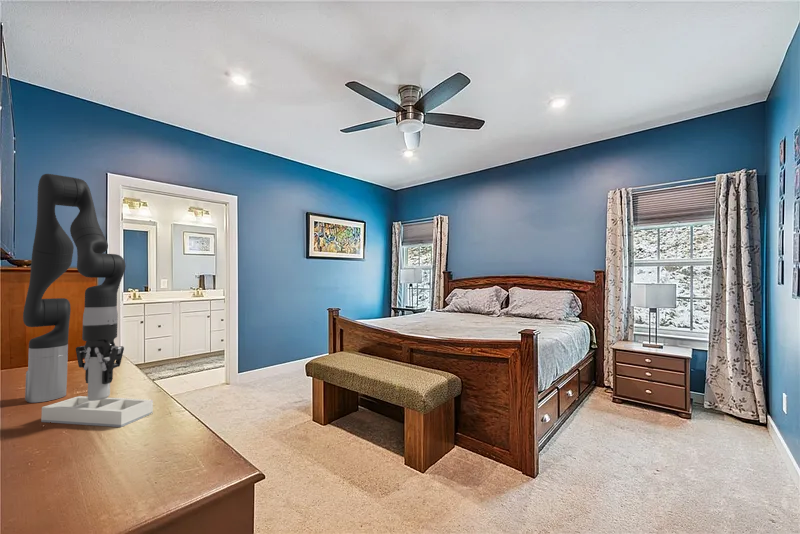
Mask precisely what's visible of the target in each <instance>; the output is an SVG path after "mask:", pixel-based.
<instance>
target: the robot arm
mask: <svg viewBox="0 0 800 534" xmlns="http://www.w3.org/2000/svg"><path fill="white" fill-rule="evenodd" d="M36 205H37V207H36V208H37V211H36V225H35V226H36V227H35V233H34V239H33V245H32V253H31V261H30V262H31V264H30V276H29V283H28V288H27V293H26V298H25V302H24V306H23V311H22V313H23V314H22V321H23V323H24V325H25V326H26V327H28V328H38V327H40V328H41V327H51V326H54V328H53V329H52V330H51V331H48V332H46V333H45V334H42V335H39V336H36V337H32V338H31V339H30V340H29V342H28V363H27V364H28V367H27V371H26V372H25V392H24V401H26V402H27V403H30V404H31V403H33V404H34V403H43V402H48V401H49V402H50V401H53V400H57V399H61V398H64V397H66V396H67V385H68V358H69V357H68V356H69V354H68V353H69V334H70V333H69V331H70V329H69V328H70V319H71V303H70V300H69V299H67V298H63V297H59V298H58V297H57V298H53V297H52V298H43V296H44V294H45V293H46V291H47V289H49V287H50V286H51V285H52V284H53V283H54V282H56V281H57V280H58V279H59V278H60V277H61V276H62V275H64V273H66V272H67V270H69V269H70V267H71V265H72V263H73V262H72V261H73V256H74V255H73V254H74V250H75V249H74V245H75V247H76V253H77V255H76V256H77V257H76V259H77V261H76V270H77V272H78V273H79V274H80V275H82V276H83V277H85V278H100V279H101V278H103V279H104V281H103V282H102V283H101V284H98V285H93V286H90V287H87V288H86V289H85V292H84V311H83V314H82V334H81V335H82V336H81V337H82V339H81V340H82V341H84V342H85V344H84V345H81V346H76V348H75V353H76V354H75V355H76V358H77V364H78V367H79V368H80V369H81V368H82V369H83V371H85V373H84V374H85V375H84V376H85V378H84V379H85V384H88V360H89V357H98V360H99V363H101V364H102V368H103V370H104V371H102V384H108V383H110V384H111V383H112V381H113V378H114V377H113V375H114V369H116V368H119V367H120V366H121V363H122V360H123V359H122V358H123V355H124V350H125V347H124V346H123V345H122V346H117V345H116V343H115V340H116V339H117V337H118V324H119V323H118V318H119V317H118V316H119V315H118V314H119V313H118V307H117V306H118V291H119V289H120V286H121V285H120V284H121V282H122V279H123V277H124V275H125V271H126V261H125V259H124V258H123V257H122V255H120V254H117V253H116V254H115V253H106V251H107V250H108V249H109V244H108V241H107V239H106V236H105V235H104V233H103V231H102V228H101V226H100V224H99V221H98V218H97V217H98V216H97V213H96V207H95V205H94V199H93V197H92V191H91V189H90V187H89V185H88V183H87V182H86V181H85V180H84V179H81V178H77V177H71V176H66V175H61V174H52V173H44V174H42V175H41V176H40V178H39V180H38V185H37V204H36ZM56 206H64V207H71V208H72V207H75V208H78V210H79V212H78V214H77V215H76V216H75V218H73V221H72V222H71V225H70V228H69V232H70V236H71V238H70V236H69V235H68V234H67V233H66V231H65V230H64V228H63V227H62V226H61V224H60V223H59V221H58V218H57V215H56ZM71 239H72V240H71ZM73 242H74V243H73ZM106 357H110V358H108V359H104V358H106ZM107 362H109V365H107Z"/></svg>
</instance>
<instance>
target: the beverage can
mask: <svg viewBox="0 0 800 534" xmlns="http://www.w3.org/2000/svg"><path fill="white" fill-rule="evenodd" d="M108 358H110V357H106V358H104V359H108ZM107 365H109V362H107ZM102 371H104V370H103V368H102V364H101V363H99V360H98V357H89V360H88V383H87V397H88V400H90V401H96V400H101V399H105V398H107V397H108V398H109V397H110V395H111V383H108V384H102Z"/></svg>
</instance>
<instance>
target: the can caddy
mask: <svg viewBox="0 0 800 534" xmlns="http://www.w3.org/2000/svg"><path fill="white" fill-rule="evenodd" d="M153 402H154V400H153V399H150V398H149V399H145V398H143V399H142V398H125V397H109V396H108V397H107V398H105V399H101V400H96V401H90V400H88V395H87V396H86V395H85V396H81V395H78V396H74V397H70V398H68V399H65V400H62V401H58V402H55V403H50V404H48V405H45V406H41V419H40V420H41V423H48V424H49V423H50V422H51V423H54V424H65V425H81V426H82V425H83V426H95V427H98V426H99V427H113V428H123V427H124V426H127V425H129V424H131V423H134V422H136V421H138V420H141V419H143V417H144V418H145V416H146V417H147V415H148V416H150V415H149V414H151V413H152V414H153V412H154V411H153V407H154V405H153ZM152 414H151V415H152Z"/></svg>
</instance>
